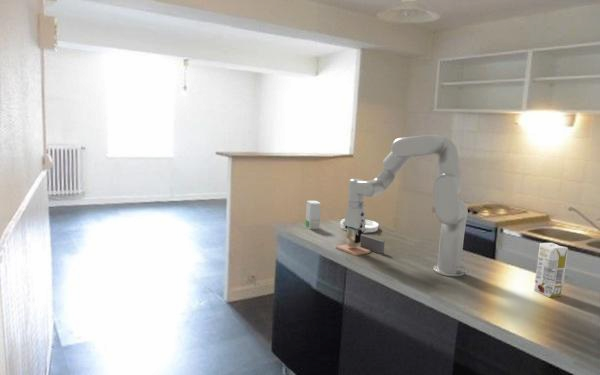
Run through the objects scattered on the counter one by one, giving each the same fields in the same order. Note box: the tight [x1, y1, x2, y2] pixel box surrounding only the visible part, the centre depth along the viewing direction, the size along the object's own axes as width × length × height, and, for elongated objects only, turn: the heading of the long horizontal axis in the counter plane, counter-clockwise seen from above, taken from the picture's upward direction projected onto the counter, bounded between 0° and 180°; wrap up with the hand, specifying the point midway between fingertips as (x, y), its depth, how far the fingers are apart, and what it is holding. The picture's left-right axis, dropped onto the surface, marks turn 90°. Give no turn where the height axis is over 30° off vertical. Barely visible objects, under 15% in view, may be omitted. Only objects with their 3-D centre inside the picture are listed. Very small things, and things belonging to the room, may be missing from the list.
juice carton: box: [533, 242, 569, 298], centre depth 161 cm, size 8×9×19 cm
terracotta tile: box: [335, 243, 371, 256], centre depth 209 cm, size 14×10×1 cm
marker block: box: [345, 227, 362, 248], centre depth 208 cm, size 5×5×9 cm
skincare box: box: [304, 200, 322, 230], centre depth 251 cm, size 8×7×16 cm
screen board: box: [360, 233, 385, 255], centre depth 214 cm, size 22×2×6 cm, turn 38°
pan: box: [339, 218, 380, 234], centre depth 255 cm, size 24×27×4 cm
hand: (353, 240), depth 208 cm, fingers closed on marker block, 4 cm apart
